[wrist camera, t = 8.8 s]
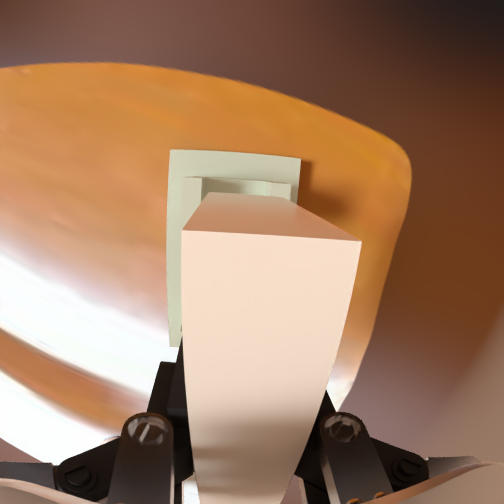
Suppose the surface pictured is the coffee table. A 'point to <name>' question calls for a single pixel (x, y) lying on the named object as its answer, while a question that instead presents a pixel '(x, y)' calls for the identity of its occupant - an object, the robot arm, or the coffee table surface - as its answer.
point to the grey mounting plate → (222, 181)
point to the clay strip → (258, 338)
